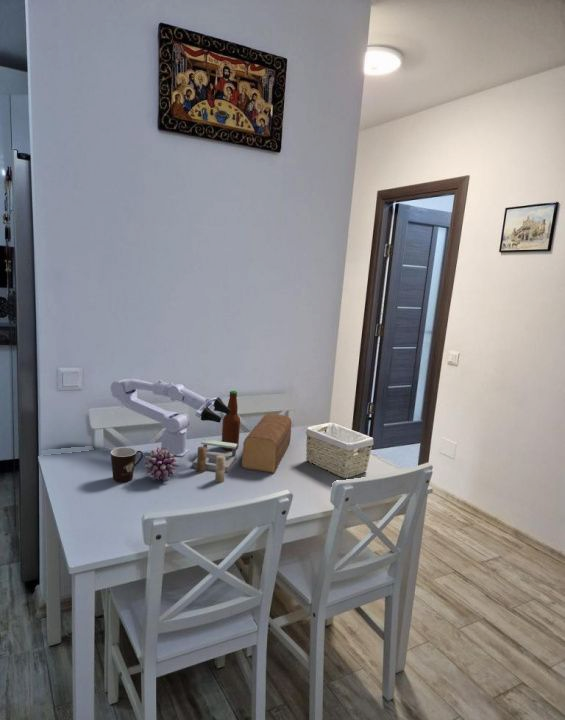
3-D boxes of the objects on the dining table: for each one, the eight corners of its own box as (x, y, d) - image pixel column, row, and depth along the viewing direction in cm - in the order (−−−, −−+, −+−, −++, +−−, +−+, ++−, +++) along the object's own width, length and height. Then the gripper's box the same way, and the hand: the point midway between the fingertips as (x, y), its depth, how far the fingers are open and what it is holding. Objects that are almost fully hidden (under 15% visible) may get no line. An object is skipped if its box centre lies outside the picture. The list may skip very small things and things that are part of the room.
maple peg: (214, 481, 173) (215, 458, 171) (216, 478, 176) (218, 454, 174) (222, 483, 172) (224, 459, 171) (225, 479, 176) (226, 456, 174)
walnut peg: (195, 471, 180) (196, 448, 178) (198, 468, 183) (199, 446, 181) (203, 472, 179) (205, 450, 178) (206, 469, 183) (207, 447, 181)
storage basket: (301, 460, 200) (304, 426, 198) (328, 453, 211) (331, 421, 208) (344, 481, 183) (348, 444, 180) (371, 472, 193) (375, 437, 191)
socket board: (192, 467, 184) (193, 450, 183) (203, 455, 196) (204, 439, 195) (228, 472, 182) (229, 455, 181) (236, 459, 195) (237, 443, 193)
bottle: (237, 445, 211) (241, 389, 207) (238, 451, 204) (242, 394, 200) (221, 444, 210) (224, 388, 206) (221, 450, 203) (225, 393, 199)
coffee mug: (111, 485, 163) (112, 457, 161) (108, 475, 171) (108, 448, 169) (146, 481, 169) (147, 454, 167) (141, 471, 176) (142, 445, 174)
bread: (290, 445, 217) (293, 414, 215) (275, 474, 184) (278, 439, 182) (260, 440, 219) (262, 410, 217) (240, 468, 186) (242, 433, 184)
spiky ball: (175, 487, 166) (176, 454, 164) (139, 485, 165) (140, 452, 163) (179, 473, 177) (181, 442, 175) (146, 471, 176) (147, 440, 174)
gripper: (187, 400, 183) (218, 415, 179) (207, 386, 195) (236, 400, 192) (184, 415, 186) (214, 430, 182) (203, 400, 198) (232, 414, 195)
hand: (225, 416), depth 188 cm, fingers open, 7 cm apart
